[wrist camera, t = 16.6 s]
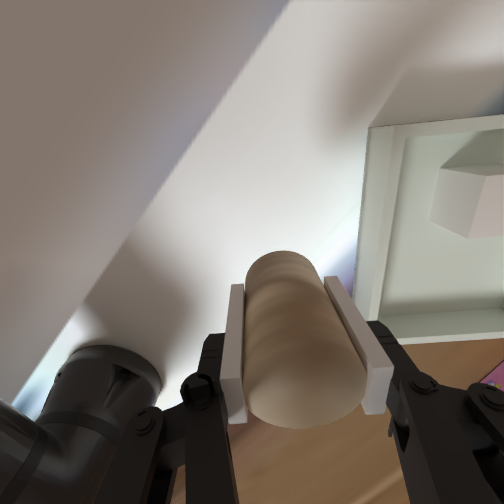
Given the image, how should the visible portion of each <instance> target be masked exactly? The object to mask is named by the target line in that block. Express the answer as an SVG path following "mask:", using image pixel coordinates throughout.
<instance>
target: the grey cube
mask: <svg viewBox="0 0 504 504" xmlns="http://www.w3.org/2000/svg"><path fill="white" fill-rule="evenodd" d="M429 221H431V222H433V223H435V224H437V225H440V226H442V227H444V228H446V229H448V230H450V231H452V232H454V233H457V234H459V235H461V236H463V237H465V238H467V239H472V238H484V237H495V236H504V163H488V164H478V165H468V166H458V167H448V168H440V169H439V173H438V178H437V183H436V187H435V192H434V197H433V202H432V206H431V211H430V216H429Z"/></svg>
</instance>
